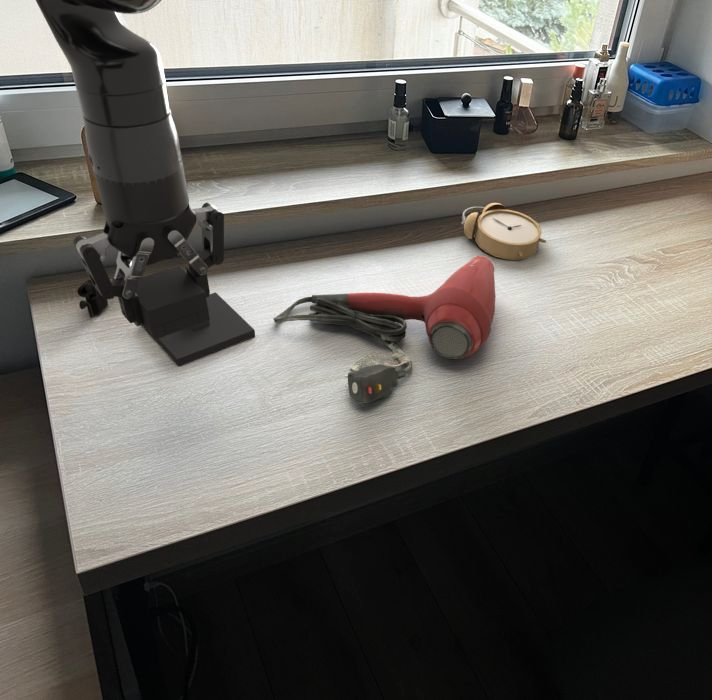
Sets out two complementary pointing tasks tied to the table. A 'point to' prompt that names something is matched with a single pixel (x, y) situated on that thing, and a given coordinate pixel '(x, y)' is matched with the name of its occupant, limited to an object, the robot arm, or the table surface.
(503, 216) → the alarm clock
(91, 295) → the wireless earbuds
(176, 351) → the base pad
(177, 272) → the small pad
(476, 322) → the hair dryer
